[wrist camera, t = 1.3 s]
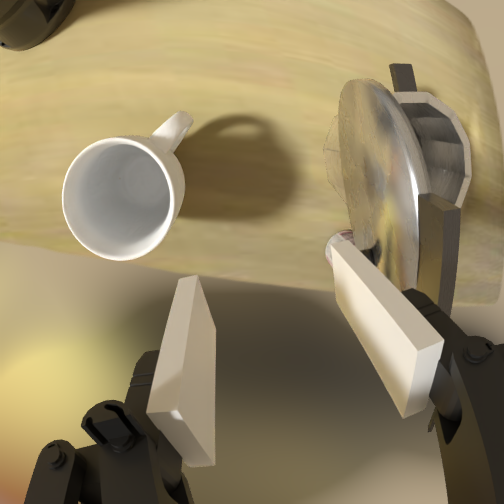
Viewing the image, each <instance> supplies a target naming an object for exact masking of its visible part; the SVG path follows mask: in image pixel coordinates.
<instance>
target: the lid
mask: <svg viewBox="0 0 504 504" xmlns="http://www.w3.org/2000/svg"><path fill="white" fill-rule="evenodd" d="M338 131H339V148H340V158H341V167H342V174H343V182H344V188H345V195H346V201H347V207H348V212H349V217H350V223H351V228H352V232H353V237H354V242H355V246H356V248H357V249H358V250H359V251H360V252H361V253H362V254H363V255H364V256H365V257H366V258H367V259H368V260H369V261H370V262H371V263H372V264H373V265H374V266H375V267H376V268H377V269H378V270H379V271H380V272H381V273H382V274H383V275H384V276H385V277H386V278H387V279H388V280H389V281H390V282H391V283H392V284H393V285H394V286H395V287H396V288H397V289H398V290H399V291H400V292H401V291H404V290H408V289H411V288H414V289H416V290H418V291H420V292H423V293H425V294H426V295H427V296H428V297H429V298H430V299H431V300H432V301H433V302H434V304H436V305H437V306H438V307H439V308H440V309H441V311H443V312H444V313H446V314H447V315H448V316H449V317H450V314H451V308H452V302H453V296H454V289H455V281H456V273H457V263H458V251H459V237H460V208H459V207H457V206H455V205H454V204H452V203H450V202H449V201H447V200H445V199H443V198H441V197H440V196H438V195H436V194H434V193H432V192H431V186H430V181H429V176H428V172H427V168H426V164H425V161H424V157H423V154H422V151H421V148H420V145H419V143H418V140H417V137H416V135H415V132H414V130H413V128H412V126H411V124H410V122H409V120H408V118H407V116H406V114H405V112H404V111H403V109H402V108H401V106H400V104H399V103H398V101H397V100H396V99H395V97H394V96H393V95H392V94H391V93H390V91H389V90H388V89H387V88H385V87H384V86H383V85H382V84H381V83H379V82H377V81H375V80H373V79H355V80H350V81H348V82H347V83H346V84H345V85H344V87H343V89H342V92H341V96H340V101H339V112H338Z"/></svg>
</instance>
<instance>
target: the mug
mask: <svg viewBox="0 0 504 504" xmlns="http://www.w3.org/2000/svg"><path fill="white" fill-rule="evenodd" d="M192 124H193V118H192V117H191V115H189V114H188V113H187V112H185V111H178V112H177V113H175V114H174V115H173V116H171V117H170V118H169V119H168V120H167V121H166V122H165V123H163V124H162V125H161V126H160V127H159V128H158V129H157V130H156V131H155V132H154V133H153V134H152V135H151V136H150V138H147V137H143V136H134V135H129V136H126V135H125V136H117V137H112V138H106V139H103V140H100V141H97V142H95V143H93V144H91V145H90V146H88V147H87V148H85V149H84V150H83V151H82V152H81V153H80V154H79V155H78V156H77V157H76V158H75V159H74V161H73V162H72V164H71V165H70V167H69V169H68V172H67V174H66V176H65V180H64V184H63V191H62V206H63V212H64V215H65V219H66V222H67V224H68V226H69V228H70V230H71V231H72V233H73V234H74V236H75V237H76V238H77V240H78V241H79V242H80V243H81V244H82V245H83V246H84V247H86V248H87V249H88V250H90V251H91V252H93V253H95V254H97V255H99V256H101V257H104V258H107V259H111V260H120V261H122V260H131V259H135V258H139V257H141V256H143V255H145V254H147V253H149V252H150V251H152V250H153V249H154V248H156V247H157V246H158V245H159V244H160V243H161V242H162V240H163V239H164V238H165V236H166V235H167V233H168V232H169V230H170V228H171V226H172V225H173V224H174V221H175V219H176V218H177V215H178V213H179V211H180V208H181V206H182V202H183V199H184V193H185V179H184V174H183V170H182V167H181V165H180V162H179V161H178V159H177V158H176V156H175V155H174V154H173V153H174V151H175V150H176V148H177V146H178V145H179V144H180V142H181V141H182V139H183V138H184V136H185V135H186V133H187V131H188V130H189V128H190V127H191V125H192Z"/></svg>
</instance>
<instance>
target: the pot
mask: <svg viewBox="0 0 504 504" xmlns="http://www.w3.org/2000/svg"><path fill="white" fill-rule="evenodd" d="M389 68H390V72H391V77H392V81H393V86H394V91H395V92H393V93H391V94H392V95H393V96H394V97H395V99H396V100H397V101H398V103H399V104H400V106H401V108H402V109H403V111H404V112H405V114H406V116H407V118H408V120H409V122H410V124H411V126H412V128H413V130H414V132H415V135H416V137H417V140H418V143H419V145H420V148H421V151H422V154H423V157H424V161H425V164H426V168H427V172H428V176H429V181H430V186H431V192H432V193H434V194H436V195H438V196H440V197H441V198H443V199H445V200H447V201H449V202H450V203H452V204H454V205H455V206H457V207H459V208H460V209H461V207H462V204H463V201H464V198H465V195H466V193H467V190H468V187H469V184H470V181H471V178H472V171H471V152H470V141H469V139H468V137H467V135H466V133H465V131H464V129H463V127H462V125H461V123H460V121H459V119H458V117H457V115H456V113H455V111H454V110H452V109H451V108H450V107H448V106H447V105H446V104H444V103H443V102H442V101H440V100H439V99H437V98H436V97H434V96H433V95H432V94H430V93H429V92H417V88H416V83H415V78H414V73H413V69H412V64H390V65H389ZM323 148H324V149H323V152H324V157H325V163H326V170H327V176H328V181H329V183H330V184H331V185H332V186H333V188H334V189H335V190H336V192H337V193H338V194H339V195H340V197H341V198H342V199H343V201H344V202H345V203H346V205H347V201H346V195H345V188H344V182H343V174H342V167H341V158H340V148H339V131H338V114H337V115H336V116H335V117H334V118H333V121H332V124H331V127H330V129H329V132H328V135H327V138H326V141H325V144H324V147H323Z"/></svg>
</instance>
